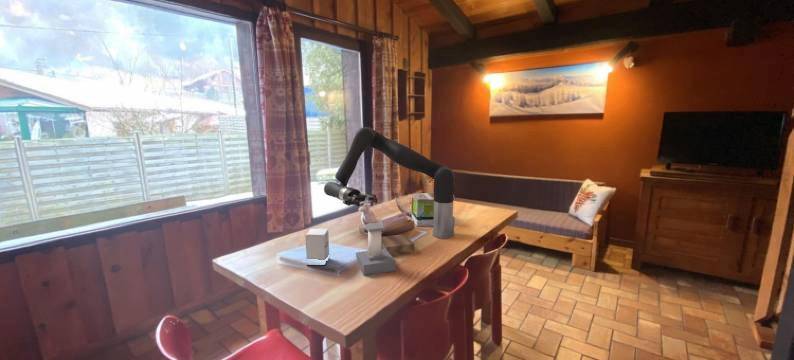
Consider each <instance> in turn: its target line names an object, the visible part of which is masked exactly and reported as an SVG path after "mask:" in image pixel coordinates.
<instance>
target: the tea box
mask: <svg viewBox="0 0 794 360" xmlns="http://www.w3.org/2000/svg"><path fill="white" fill-rule="evenodd" d="M411 195H412V197H411V219H412V221H413V220H414V221H413V222H414V223H415V226H417V227H429V226H430V227H431V226H432V227H433V215H434V196H433V195H431V194H430V193H429V192H428V193H427V192H425V193H423V192H421V193H419V192H418V193H411Z"/></svg>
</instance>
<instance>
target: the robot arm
mask: <svg viewBox="0 0 794 360" xmlns="http://www.w3.org/2000/svg"><path fill="white" fill-rule="evenodd" d="M368 147H370V148H371V149H375V150H377V151H379V152H381V153H382V154H384V155H385V156H387V158H388V159H390V160H391V161H392V162H394V164H395V163H396V164H397V165H400V166H401V167H402V168H405V169H407V170H410V171H414V172H418V173H420V174H424V175H425V176H427V177H429V178H431V179H432V180H433V198H434V215H433V226H432V236H433V237H435V238H437V239H442V240H443V239H444V240H446V239H450V238H452V237H455V219H456V218H455V217H454V200H455V199H454V197H455V196H454V195H455V192H454V191H455V173H454V170H453V169H452V168H450V167H448V166H446V165H443V164H441V163H438V162H435V161H432V160H431V159H429V158H428V157H426V156H425V155H422V154H421V153H419V152H417V151H415V150H414V149H412V148H410V147H408V146H407V145H404V144H402V143H400V142H398V141H394V140H392V139H390V138H387V137H386V136H384V135H382V134H381V133H379V132H378V131H376V130H375V129H374V128H372V127H369V126H365V127H360V128H358V129H357V130H356V131H355V134H354V137H353V139H352V142H351V145H350V147H349V149H348V151H347V154H346V155H345V158H344V159H343V161H342V163H341V164H340V166H339V168H338V170H337V172H336V173H335V179H336V181H337V182H340V183H337V182H335V181H328V182H326V183H325V184H324V187H323V191H324V194H325V195H326V196H328V197H333V198H336V199H337V200H339V201H341V202H342V204H344V205H346V206H355V207H360V205H361V203H370V202H371V203H374V204H377V203H378V198H377V194H374V193H370V192H367V194H366V193H365V194H364V193H361V191H360V190H359V189H357V188H353V187H351V186H348V184H349V181H350V179H351V177H352V175H353V173H354V172H355V170H356V168H357V165H358V162H359V160H360V158H361V156H362V154H363V153H364V152H365V150H366V149H367V148H368Z"/></svg>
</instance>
